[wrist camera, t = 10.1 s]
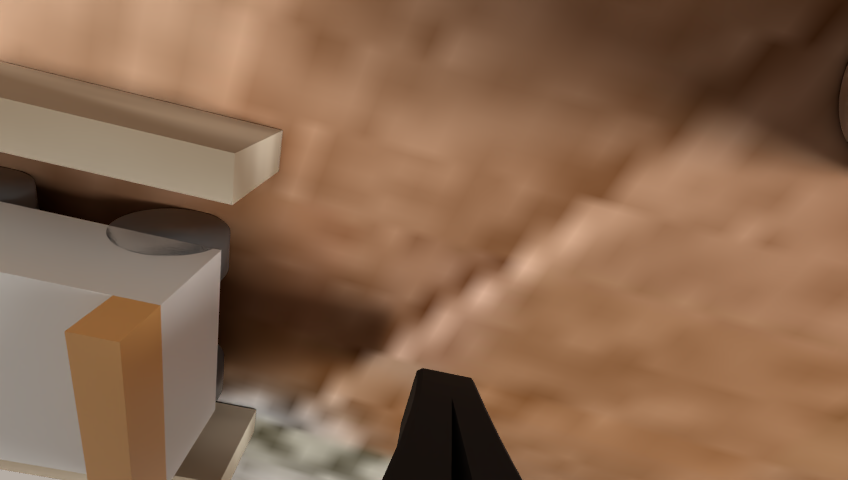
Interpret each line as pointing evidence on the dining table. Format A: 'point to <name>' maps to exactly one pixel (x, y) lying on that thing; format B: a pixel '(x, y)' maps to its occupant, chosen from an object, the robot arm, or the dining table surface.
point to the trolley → (107, 336)
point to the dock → (149, 165)
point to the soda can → (844, 104)
